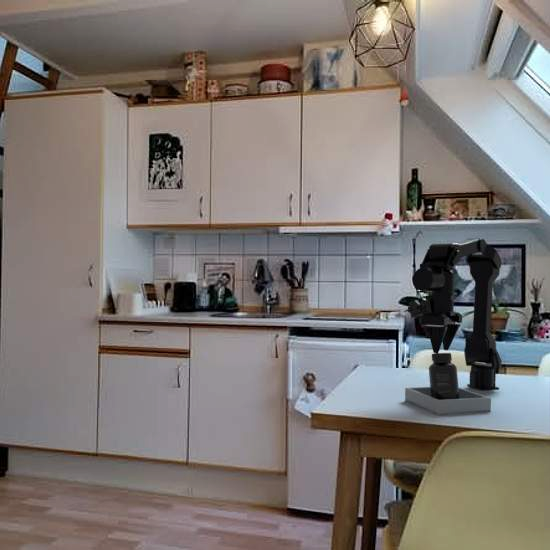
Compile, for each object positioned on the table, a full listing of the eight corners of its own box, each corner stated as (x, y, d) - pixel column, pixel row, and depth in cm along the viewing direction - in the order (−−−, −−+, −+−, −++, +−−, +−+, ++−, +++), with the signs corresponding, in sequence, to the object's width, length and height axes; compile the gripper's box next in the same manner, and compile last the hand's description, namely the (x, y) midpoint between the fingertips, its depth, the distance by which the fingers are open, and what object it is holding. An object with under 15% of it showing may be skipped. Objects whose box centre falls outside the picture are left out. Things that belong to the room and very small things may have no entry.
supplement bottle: (465, 401, 130) (461, 352, 132) (449, 402, 126) (445, 352, 128) (441, 400, 135) (437, 353, 137) (425, 402, 131) (422, 353, 133)
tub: (453, 398, 139) (454, 385, 139) (490, 412, 125) (490, 398, 125) (405, 401, 135) (405, 387, 135) (437, 415, 121) (437, 400, 121)
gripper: (422, 291, 148) (421, 346, 147) (399, 290, 132) (398, 352, 132) (463, 292, 141) (462, 349, 141) (444, 291, 126) (443, 356, 125)
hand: (441, 351), depth 135 cm, fingers open, 9 cm apart
